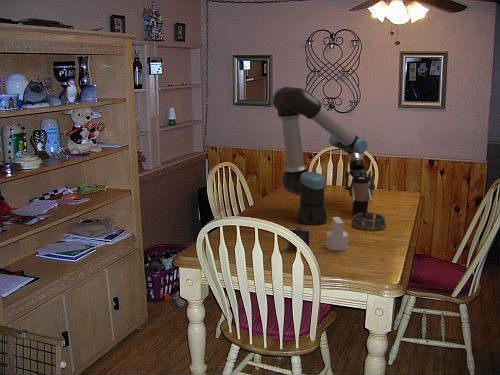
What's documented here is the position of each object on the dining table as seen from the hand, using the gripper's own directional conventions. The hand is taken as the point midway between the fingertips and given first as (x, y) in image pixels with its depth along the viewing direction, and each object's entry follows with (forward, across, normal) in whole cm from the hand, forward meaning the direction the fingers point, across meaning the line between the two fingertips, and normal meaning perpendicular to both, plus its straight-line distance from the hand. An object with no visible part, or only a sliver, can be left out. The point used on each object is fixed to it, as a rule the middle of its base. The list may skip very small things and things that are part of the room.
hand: (362, 201), depth 273 cm
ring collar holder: (+16, -1, +4) cm, 16 cm away
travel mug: (+4, 0, -9) cm, 9 cm away
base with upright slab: (+36, +20, +24) cm, 48 cm away
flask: (+38, +36, +26) cm, 59 cm away
